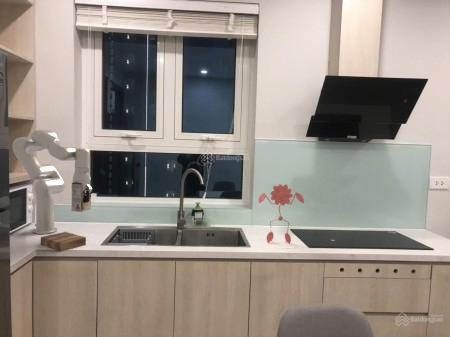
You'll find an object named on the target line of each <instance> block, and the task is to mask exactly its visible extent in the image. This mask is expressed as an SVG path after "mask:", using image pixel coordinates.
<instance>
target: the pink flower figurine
mask: <svg viewBox="0 0 450 337" xmlns="http://www.w3.org/2000/svg"><path fill="white" fill-rule="evenodd" d="M272 189H273V190H272V191H270V195H271V197H270V199H269V197H268V196H267V194H266V193H265V192H263V193H262V194H260V195H259V196H258V199H257V200H258V204H261V203H262V202H264V201H265V199H267V200H268V202H269V203H270V204H271V205H276V206H277V205H278V212H279V216H278V217H277V218H276V219H274V220H271V221H270V222H269V224H270V225H269V226H270V227H272V222H275V221H284V222H287V228H289V226H290V222H289V221H287V220H286V219H284V217H283V216H282V214H281V211H280V210H281V209H280V208H281V206H285V204H286V205H292V204H293V202H294V200H295V197H296V199H297V200H298V202H300V203H302V204H305V200H304V197H303V195H301V194H300V193H299V192H297V191H295V194H294V195H293V194H292V189H291V188H289V186H288V184H286V183H285V184H284V185H283V184H280V183H279V184H278V185H273V186H272ZM291 198H292V199H291ZM271 201H274V202H273V203H272V202H271ZM274 236H275V235H274V232H273V231H270V232H268V233H267V235H266V242H267V244H269V243H270V242H272V241H273V239H274V238H275V237H274ZM284 239H285V242H286V243H288V244H289V245H290V244H291V243H292V242H291V241H292V238H291V235H290V234H289V229H287V230H286V232H285V234H284ZM260 241H261V238H260Z"/></svg>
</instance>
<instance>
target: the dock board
mask: <svg viewBox="0 0 450 337" xmlns="http://www.w3.org/2000/svg"><path fill="white" fill-rule="evenodd" d="M86 237H87V236H83V235H79V234H76V233H72V232H71V233H70V232H68V231H63V232H58V233H51V234H47V235H44V236H40V246H45V247H46V248H50V249H54V250H57V251H60V252H65V251H67V250H70V249H74V248H75V249H76V248H78V247H81V246H85V245H87V242H86V241H87V238H86Z"/></svg>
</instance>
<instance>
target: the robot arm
mask: <svg viewBox="0 0 450 337" xmlns="http://www.w3.org/2000/svg"><path fill="white" fill-rule="evenodd" d="M44 150H47V151H48V153H49V155H50V156H51V157H53V158H55V159H57V160H59V161H64V162H67V161H68V162H69V161H74V173H73V177H72V183H74V182H77V183H82V191H84V199H83V202H84V203H86V202H89V195H90V193H91V194H92V191H93V188H92V186H91V187H90V182H91V176H90V155H91V154H90V153H91V152H90V150H89V148H81V147H76V146H75V147H74V146H73V147H72V146H69V147H68V146H61V140H60V139H59V138H58V135H57V133H56V132H55V131H52V130H48V129H46V130H45V129H44V130H43V129H38V130H34V131H33V132H32V133H31V136H21V137H17V138H15V139H14V140H13V143H12V151H13V154H14V156H15V157H16V159H17V160H18V161H19V162H20V163H21V165H22V166H23V168H24V170H25V171H26V173H27V175H28V176H29V178H30V179H31V180H32V181H36V182H35V183H34V187H33V188H34V193H35V202H36V203H35V204H36V206H35V207H36V209H35V210H36V218H35V219H36V223H35V224H34V227H35V229H33V231H32V232H33V234H37V235H50V234H55V233H56V232H58V228H57V227H55V199H54V197H53V196H52V195H55V194H60V193H63V192H64V191H65V188H66V184H65V181H64V178H63V177H62V176H61V174H60V172H59V171H58V170H57V168H56V167H55V166H54V165H53V164H51V163H41V162H40V161H39V159H38V158H37V157H36V156H35V155H34V154H33V153H31V152H40V151H44ZM85 189H87V190H85ZM86 191H87V192H86Z"/></svg>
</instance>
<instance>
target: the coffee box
mask: <svg viewBox="0 0 450 337" xmlns="http://www.w3.org/2000/svg"><path fill="white" fill-rule="evenodd" d="M90 187H91V188H92V181H90ZM85 190H87V189H85ZM86 192H87V191H86ZM83 199H84V191H82V183H77V182H74V183H73V182H71V212H76V213H82V212H86V211H89V210H91V207H92V203H91V202H92V192H91V193H90V195H89V202H86V203H84V202H83Z"/></svg>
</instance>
